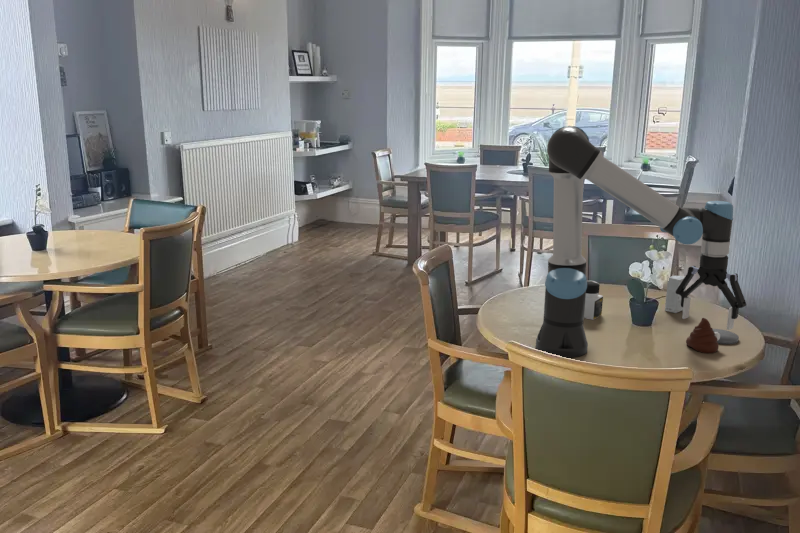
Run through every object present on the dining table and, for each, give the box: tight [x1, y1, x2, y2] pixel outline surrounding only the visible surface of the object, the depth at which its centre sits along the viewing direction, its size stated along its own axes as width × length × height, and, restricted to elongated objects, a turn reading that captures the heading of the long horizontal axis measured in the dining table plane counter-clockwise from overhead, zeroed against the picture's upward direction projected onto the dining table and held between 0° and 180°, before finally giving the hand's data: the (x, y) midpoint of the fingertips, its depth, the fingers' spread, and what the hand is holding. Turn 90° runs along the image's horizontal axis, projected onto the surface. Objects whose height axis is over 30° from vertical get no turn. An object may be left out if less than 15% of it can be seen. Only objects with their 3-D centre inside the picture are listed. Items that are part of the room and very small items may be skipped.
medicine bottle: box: [584, 280, 604, 321], centre depth 238 cm, size 7×7×12 cm
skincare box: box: [664, 274, 686, 314], centre depth 245 cm, size 6×4×12 cm
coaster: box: [712, 328, 739, 345], centre depth 219 cm, size 11×11×1 cm
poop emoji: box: [685, 317, 720, 354], centre depth 210 cm, size 10×8×9 cm
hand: (707, 323), depth 209 cm, fingers open, 13 cm apart
